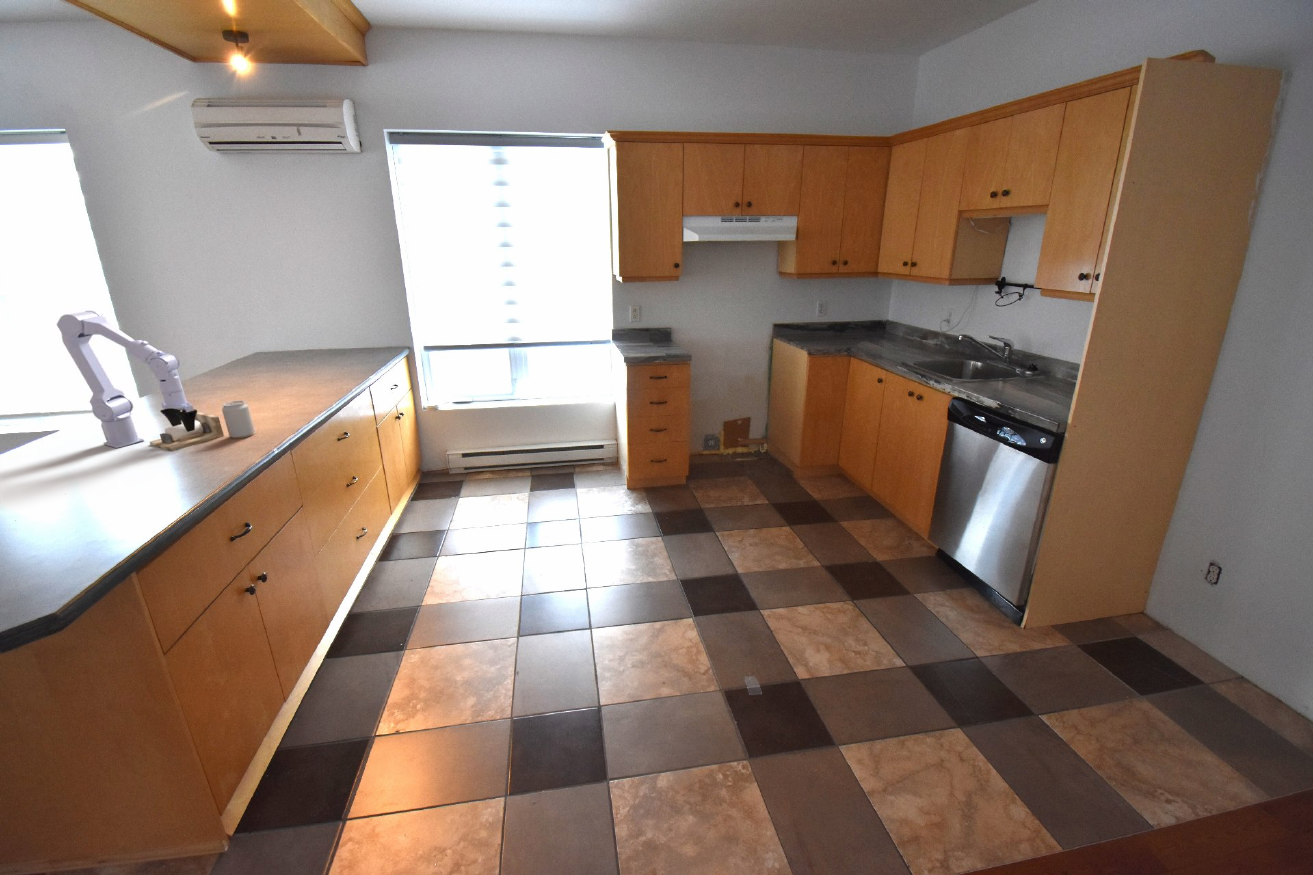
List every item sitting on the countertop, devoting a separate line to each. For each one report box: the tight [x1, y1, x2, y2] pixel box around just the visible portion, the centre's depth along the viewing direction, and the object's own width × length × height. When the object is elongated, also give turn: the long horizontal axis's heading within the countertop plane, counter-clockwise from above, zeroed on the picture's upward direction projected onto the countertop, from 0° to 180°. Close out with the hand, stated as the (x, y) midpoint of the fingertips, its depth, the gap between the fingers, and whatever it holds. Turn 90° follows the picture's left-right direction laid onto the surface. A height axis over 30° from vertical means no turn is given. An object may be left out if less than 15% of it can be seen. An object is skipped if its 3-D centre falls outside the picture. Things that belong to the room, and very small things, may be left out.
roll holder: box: [149, 411, 225, 452], centre depth 203 cm, size 14×16×7 cm
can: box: [221, 400, 255, 440], centre depth 206 cm, size 8×8×12 cm
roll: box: [164, 420, 203, 442], centre depth 203 cm, size 5×9×5 cm, turn 155°
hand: (184, 429), depth 203 cm, fingers open, 7 cm apart
